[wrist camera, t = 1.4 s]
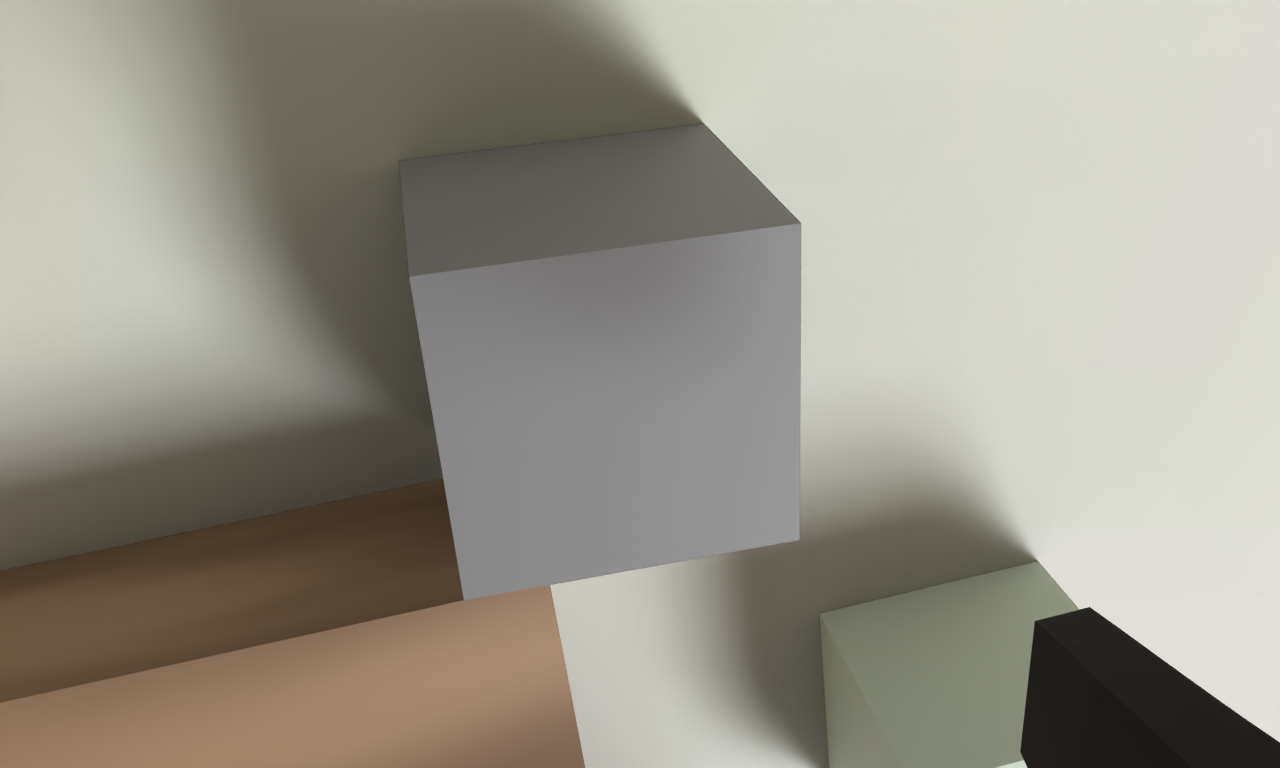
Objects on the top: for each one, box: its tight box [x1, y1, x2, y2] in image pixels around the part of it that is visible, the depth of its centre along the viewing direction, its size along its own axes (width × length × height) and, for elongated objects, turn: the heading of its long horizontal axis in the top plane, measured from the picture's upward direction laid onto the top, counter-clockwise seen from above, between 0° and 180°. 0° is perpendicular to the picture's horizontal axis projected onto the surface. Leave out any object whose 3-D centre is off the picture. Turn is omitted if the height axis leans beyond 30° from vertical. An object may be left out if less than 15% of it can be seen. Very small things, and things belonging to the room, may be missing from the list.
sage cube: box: [820, 561, 1079, 768], centre depth 24 cm, size 5×5×5 cm
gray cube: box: [399, 124, 801, 600], centre depth 18 cm, size 5×5×5 cm
